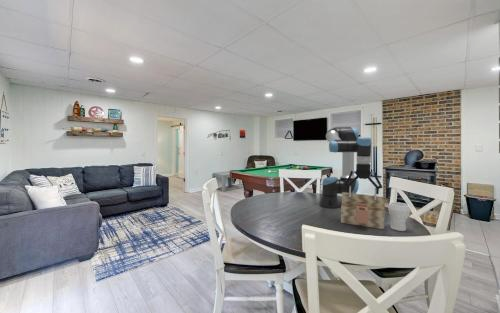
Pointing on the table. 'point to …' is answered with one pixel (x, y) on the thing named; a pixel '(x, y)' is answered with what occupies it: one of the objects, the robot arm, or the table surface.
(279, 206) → the table surface
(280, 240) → the table surface
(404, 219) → the cup
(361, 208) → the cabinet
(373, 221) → the wallboard
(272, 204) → the table surface
